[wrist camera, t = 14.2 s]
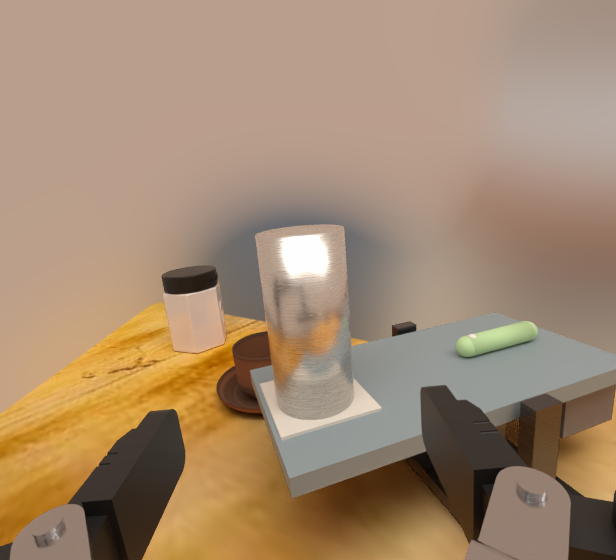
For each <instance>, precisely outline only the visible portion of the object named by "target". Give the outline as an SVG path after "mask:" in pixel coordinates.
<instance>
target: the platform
mask: <svg viewBox="0 0 616 560" xmlns="http://www.w3.org/2000/svg"><path fill="white" fill-rule="evenodd" d="M351 349H352V366H353V382H354V399H353V401H352V403H351V405H350V406H349V407H348V408H347V409H346V410H344V411H343V412H341V413H339V414H338V415H335V416H333V417H330V418H326V419H320V420H302V419H297V418H293V417H291V416H289V415H287V414H285V413H284V412H282V411H281V410H280V408H279V407H278V405H277V401H276V394H275V386H274V378H273V370H272V365H270V366H266V367H262V368H258V369H253V370H250V375H251V382H252V386H253V388H254V391H255V394H256V397H257V400H258V403H259V406H260V408H261V411H262V414H263V417H264V420H265V423H266V426H267V428H268V431H269V434H270V437H271V440H272V443H273V446H274V448H275V451H276V454H277V457H278V460H279V463H280V466H281V468H282V471H283V474H284V477H285V480H286V483H287V486H288V488H289V491H290V494H291V497H292V499H293V498H295V497H298V496H301V495H304V494H307V493H310V492H312V491H315V490H318V489H321V488H324V487H326V486H329V485H332V484H335V483H338V482H341V481H343V480H346V479H349V478H352V477H355V476H358V475H360V474H363V473H366V472H369V471H372V470H375V469H377V468H380V467H383V466H386V465H389V464H391V463H394V462H397V461H400V460H403V459H406V458H408V457H411V456H414V455H417V454H420V453H423V452H425V451H426V448H425V445H424V442H423V437H422V429H421V400H420V390H421V387H427V386H438V385H446V386H447V387H448V388H449V390H450V391H451V393H452V394H453V395H454V397H455V398H456V399H457V400H468V401H469V402H471V403H472V404H474V405H476V406H477V407H479V408H480V409H481V410H482V411H483V412H484V414H485V415H486V416H487V417H488V418H489V420H490V422H491V423H493V425H494V426H495V427H496V426H499V425H502V424H505V423H507V422H510V421H513V420H516V419H519V418H520V404H521V402H522V401H525V400H528V399H531V398H534V397H537V396H540V395H543V394H548V395H550V396H552V397H554V398H556V399H558V400H560V401H562V402H563V404H562V415H561V425H560V436H559V437H561V438H565V437H568V436H570V435H573V434H576V433H578V432H581V431H583V430H586V429H588V428H591V427H593V426H596V425H598V424H601V423H604V422H606V421H609V420H611V419H612V412H613V405H614V397H615V390H616V355H615V354H612V353H609V352H606V351H604V350H601V349H598V348H595V347H592V346H589V345H587V344H584V343H581V342H578V341H575V340H572V339H569V338H567V337H564V336H561V335H558V334H555V333H552V332H550V331H547V330H544V329H541V328H538V327H536V326H535V325H534V324H533V323H531V322H529V321H523V322H521V321H518V320H515V319H513V318H510V317H507V316H504V315H501V314H498V313H496V312H495V313H491V314H487V315H483V316H479V317H474V318H470V319H466V320H462V321H457V322H453V323H449V324H444V325H440V326H436V327H432V328H427V329H423V330H419V331H415V332H410V333H406V334H402V335H398V336H393V337H389V338H385V339H381V340H376V341H372V342H368V343H364V344H359V345H355V346H351Z"/></svg>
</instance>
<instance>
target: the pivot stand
mask: <svg viewBox="0 0 616 560" xmlns="http://www.w3.org/2000/svg"><path fill="white" fill-rule="evenodd" d="M415 331H416V324H414V323H412V322H406V323H401V324H396V325H392V337H393V336H398V335H402V334H406V333H410V332H415ZM562 404H563V402H562V401H560V400H558V399H556V398H554V397H552V396H550V395H548V394H543V395H540V396H537V397H534V398H531V399H528V400H525V401H522V402H521V404H520V420H519V436H518V447H516V446H515V445H514V444H512V443H511V442H509V441H508V440H507V439H506V441H507V442H508V443H509V444H510V446H511V447H512V448H513V449H514V450H515V452H516V453H517V454H518V455H519V457H520V458H521V459H522V460H523V462H524V463H525V464H526V465H527V466H528V467H529V468H532V469H536V470H538V471H541V472H543V473H545V474H547V475H549V476H550V477H552V478H553V479H555V480H556V481H557V482H559V483H560V484H561V485H562V486H563V487H564V489H565V490H566V491H567V493H568V494H572V495H576V496H580V497H584V496H583V495H581V494H580V493H578V492H577V491H576V490H574V489H573V488H572V487H570V486H569V485H568V484H566V483H565V482H564V481H562V480H561V479H560V478H558V477H557V476H556V468H557V457H558V446H559V436H560V425H561V415H562ZM496 428H497V430H498V432H500V433H501V434H502V436H503V437H504V438H505V433H506V423H505V424H502V425H499V426H496ZM405 460H406V461H407V462H408V463H409V464H410V466H411V467H412V468H413V469H414V470H415V471H416V473H417V474H418V475H419V476H420V477H421V479H422V480H423V481H424V482H425V483H426V484H427V486H428V487H429V488H430V489H431V490H432V492H433V493H434V494H435V495H436V496H437V497H438V499H439V500H440V501H441V502H442V503H443V504H444V506H445V507H446V508H447V509H448V510H449V512H450V513H451V514H452V515H453V516H454V517H455V519H456V520H457V521H458V522H459V520H458V518H457V516H456V514H455V512H454V509H453V507H452V505H451V503H450V501H449V499H448V496H447V494H446V492H445V490H444V488H443V486H442V483H441V481H440V479H439V477H438V475H437V473H436V471H435V468H434V466H433V464H432V462H431V460H430V458H429V455H428V453H427V451H425V452H423V453H420V454H417V455H414V456H411V457H408V458H406V459H405ZM459 523H460V522H459Z"/></svg>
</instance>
